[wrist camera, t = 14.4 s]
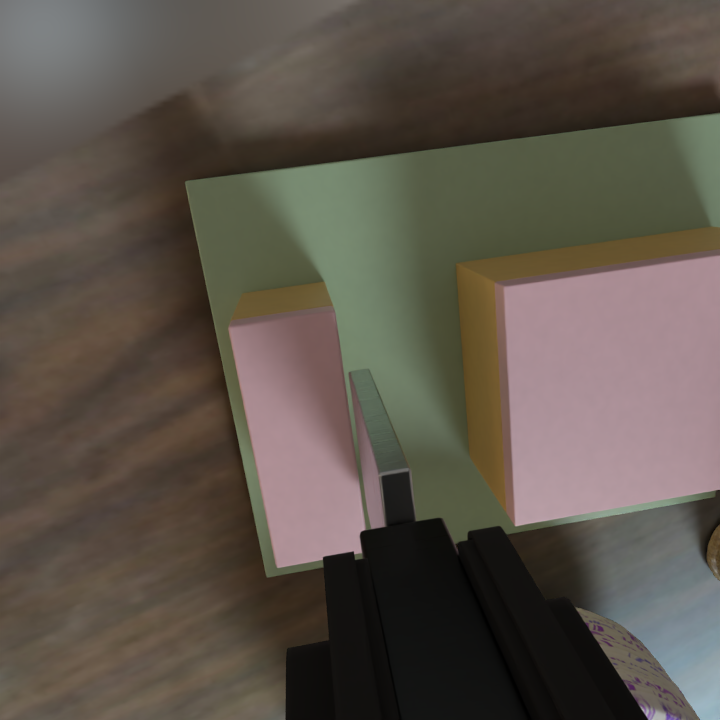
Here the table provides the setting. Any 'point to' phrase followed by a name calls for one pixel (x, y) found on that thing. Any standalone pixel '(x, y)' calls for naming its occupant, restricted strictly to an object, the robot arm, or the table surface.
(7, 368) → the table surface
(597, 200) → the cake board
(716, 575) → the sprinkles bottle
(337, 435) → the slice
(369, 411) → the knife
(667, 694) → the paper bowls
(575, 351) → the cake
